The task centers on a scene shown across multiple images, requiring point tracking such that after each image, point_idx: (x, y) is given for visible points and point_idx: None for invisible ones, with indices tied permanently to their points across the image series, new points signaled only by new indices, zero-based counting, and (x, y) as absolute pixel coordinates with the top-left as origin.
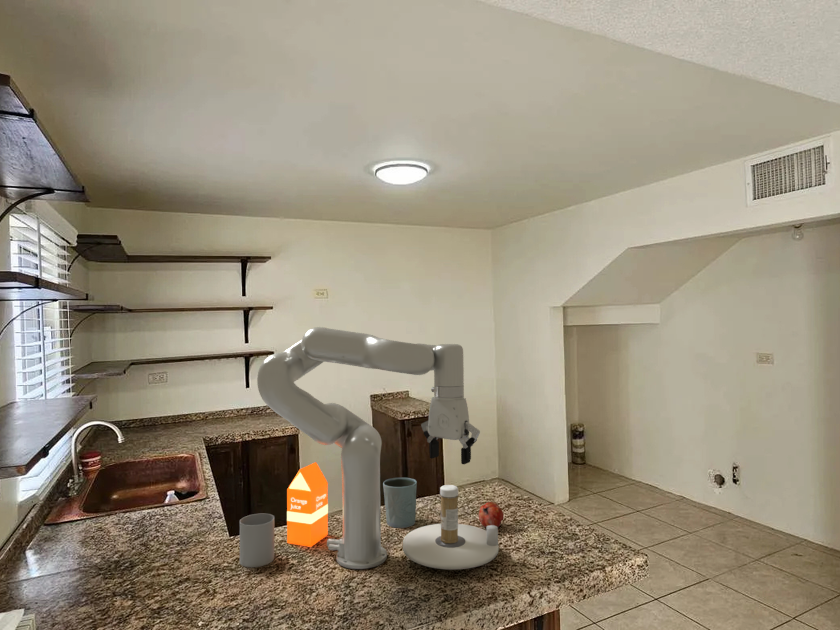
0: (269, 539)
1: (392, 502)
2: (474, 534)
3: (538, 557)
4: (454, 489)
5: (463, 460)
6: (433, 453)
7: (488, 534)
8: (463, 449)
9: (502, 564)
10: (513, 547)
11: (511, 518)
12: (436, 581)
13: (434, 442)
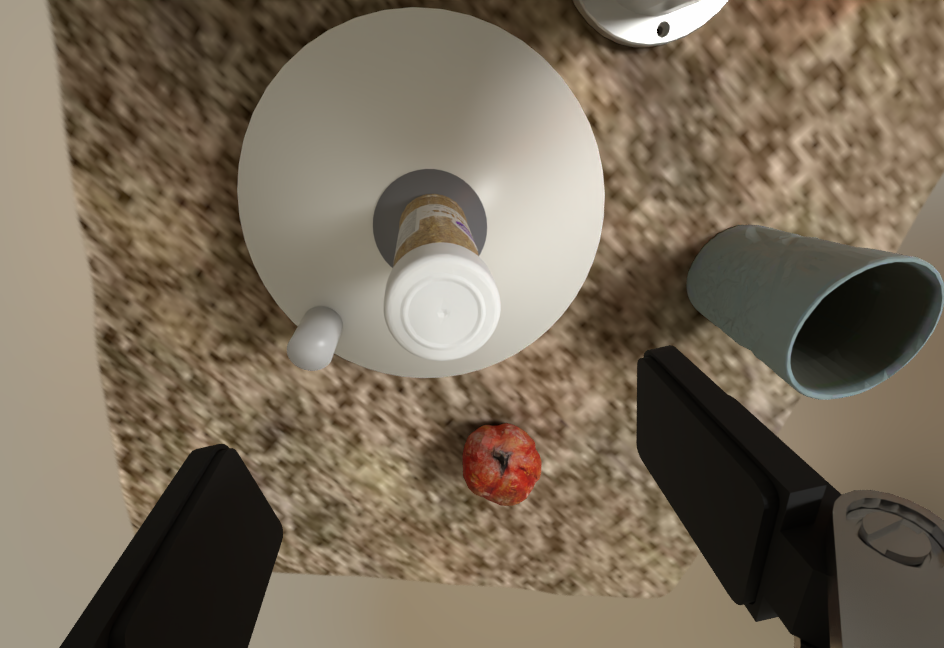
0: None
1: (803, 248)
2: None
3: (265, 400)
4: (387, 311)
5: (176, 481)
6: (665, 407)
7: (310, 322)
8: (73, 639)
9: None
10: (356, 395)
11: (495, 504)
12: (309, 30)
13: (769, 555)
